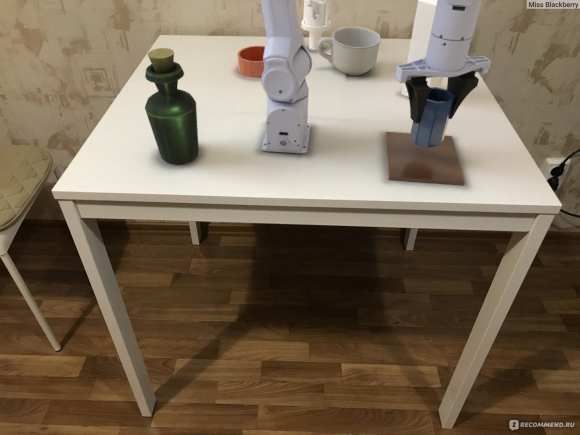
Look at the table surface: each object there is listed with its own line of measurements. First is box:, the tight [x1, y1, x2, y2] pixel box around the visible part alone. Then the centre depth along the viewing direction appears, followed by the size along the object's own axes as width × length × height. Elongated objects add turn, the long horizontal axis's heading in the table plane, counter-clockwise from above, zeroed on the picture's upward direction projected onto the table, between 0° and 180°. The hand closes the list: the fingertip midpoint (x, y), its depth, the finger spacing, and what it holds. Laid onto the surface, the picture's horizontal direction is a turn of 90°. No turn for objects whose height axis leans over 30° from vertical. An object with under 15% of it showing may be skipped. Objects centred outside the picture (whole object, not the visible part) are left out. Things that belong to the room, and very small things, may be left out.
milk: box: [400, 0, 445, 98], centre depth 90 cm, size 6×6×22 cm
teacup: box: [316, 26, 382, 76], centre depth 103 cm, size 14×11×8 cm
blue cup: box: [409, 87, 455, 148], centre depth 74 cm, size 5×5×8 cm
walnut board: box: [384, 131, 465, 186], centre depth 79 cm, size 14×12×1 cm
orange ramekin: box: [236, 45, 265, 78], centre depth 104 cm, size 9×9×4 cm
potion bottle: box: [144, 47, 200, 165], centre depth 74 cm, size 8×8×18 cm
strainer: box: [300, 0, 332, 51], centre depth 109 cm, size 7×7×15 cm
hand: (431, 118), depth 74 cm, fingers closed on blue cup, 5 cm apart
